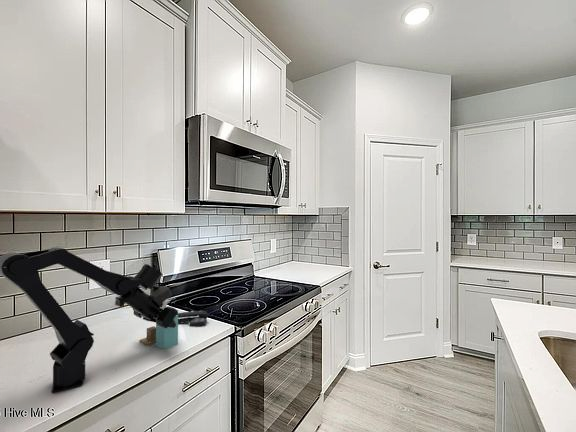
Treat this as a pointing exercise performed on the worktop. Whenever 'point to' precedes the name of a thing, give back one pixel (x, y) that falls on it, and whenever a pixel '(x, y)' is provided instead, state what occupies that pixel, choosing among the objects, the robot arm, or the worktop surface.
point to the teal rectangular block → (167, 335)
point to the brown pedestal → (149, 336)
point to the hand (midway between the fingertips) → (170, 324)
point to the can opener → (193, 318)
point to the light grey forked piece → (164, 304)
